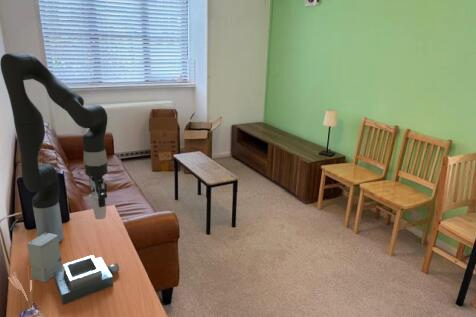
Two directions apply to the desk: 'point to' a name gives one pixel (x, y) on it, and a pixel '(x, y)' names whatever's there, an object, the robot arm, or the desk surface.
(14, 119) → the robot arm
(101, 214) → the smoothie
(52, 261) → the skincare box
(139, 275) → the desk surface
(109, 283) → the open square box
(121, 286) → the desk surface
